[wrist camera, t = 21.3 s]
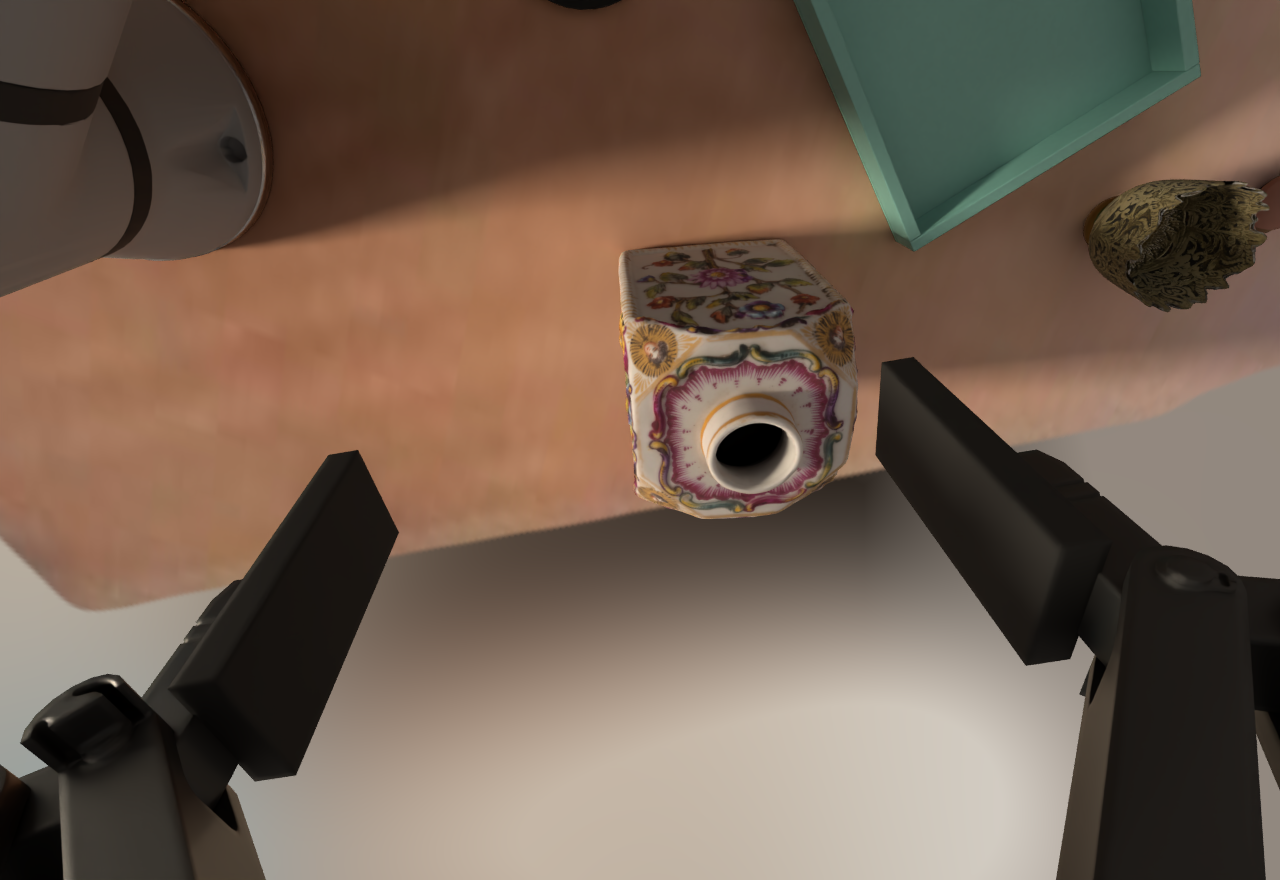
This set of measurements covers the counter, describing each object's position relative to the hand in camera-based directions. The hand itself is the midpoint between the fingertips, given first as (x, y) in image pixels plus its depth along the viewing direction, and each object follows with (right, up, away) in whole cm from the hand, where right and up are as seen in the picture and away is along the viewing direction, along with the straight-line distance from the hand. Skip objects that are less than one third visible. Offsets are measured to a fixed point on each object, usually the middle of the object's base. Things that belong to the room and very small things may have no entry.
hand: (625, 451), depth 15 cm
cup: (+33, +16, +27) cm, 45 cm away
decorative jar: (+5, +9, +29) cm, 31 cm away
